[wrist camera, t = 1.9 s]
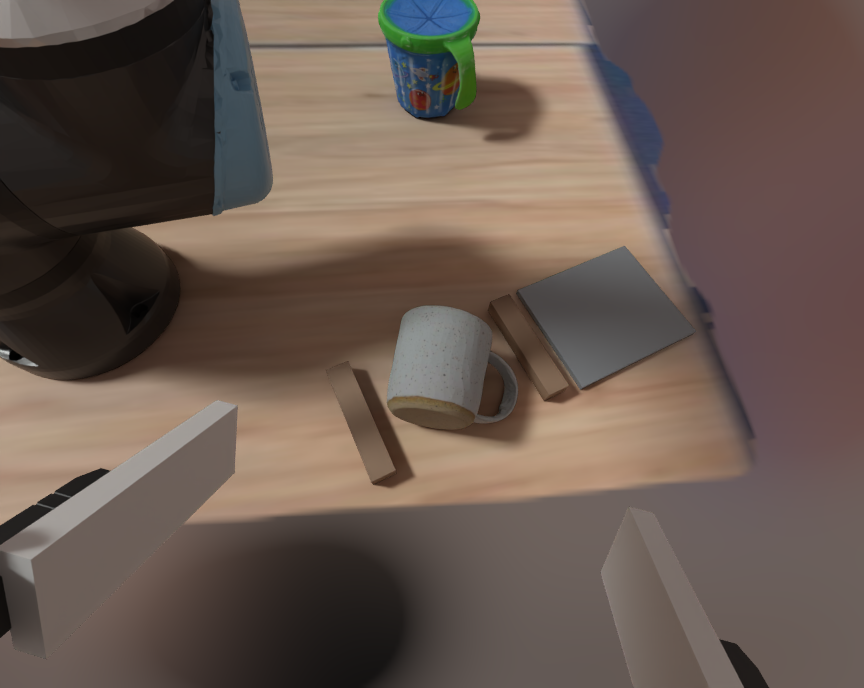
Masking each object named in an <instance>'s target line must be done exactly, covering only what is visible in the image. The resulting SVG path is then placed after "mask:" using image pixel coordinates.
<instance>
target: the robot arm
mask: <svg viewBox="0 0 864 688" xmlns="http://www.w3.org/2000/svg"><path fill="white" fill-rule="evenodd" d="M272 184H273V174H272V166H271V159H270V153H269V147H268V141H267V135H266V129H265V124H264V118H263V113H262V107H261V102H260V97H259V92H258V87H257V82H256V76H255V71H254V66H253V61H252V56H251V51H250V47H249V42H248V37H247V33H246V28H245V24H244V20H243V17H242V14H241V9H240V4H239V1H238V0H0V357H1V358H2V359H4V360H5V361H7V362H8V363H10V364H12V365H14V366H16V367H19V368H21V369H23V370H25V371H28V372H30V373H32V374H35V375H37V376H41V377H44V378H49V379H59V380H71V379H80V378H86V377H91V376H95V375H98V374H101V373H104V372H107V371H110V370H112V369H114V368H116V367H119V366H121V365H123V364H124V363H126V362H128V361H130V360H131V359H133V358H134V357H136V356H137V355H139V354H140V353H141V352H143V351H144V350H145V349H146V348H148V347H149V346H150V345H151V344H152V343H153V342H154V341H155V340H156V339H157V338H158V337H159V336H160V334H161V333H162V332H163V331H164V329H165V328H166V327H167V325H168V323H169V322H170V320H171V318H172V316H173V314H174V312H175V310H176V307H177V304H178V300H179V295H180V281H179V276H178V273H177V270H176V268H175V266H174V264H173V262H172V261H171V260H170V258H169V257H168V256H167V255H166V254H165V253H164V252H163V250H162V249H161V248H160V247H159V246H158V245H157V244H156V243H155V242H154V241H153V240H152V239H150V238H149V237H148V236H146V235H145V234H143V233H141V232H139V231H138V230H136V229H134V228H132V227H136V226H142V225H149V224H155V223H161V222H167V221H173V220H179V219H185V218H192V217H198V216H204V215H210V214H212V215H213V216H216V215H218V214H221V213H222V211H224V210H228V209H233V208H237V207H242V206H246V205H251V204H255V203H258V202H259V201H262V200H263V199H264V198H265V197H266V196H267V195H268V193H269V192H270V190H271V188H272ZM237 409H238V405H234V404H230V403H226V402H222V401H218V400H216V401H214V402H213V403H212V404H210V405H209V406H207V407H206V408H204V409H203V410H201V411H200V412H198V413H197V414H195V415H194V416H192V417H191V418H189V419H188V420H186V421H185V422H183V423H182V424H180V425H179V426H177V427H176V428H174V429H173V430H171V431H170V432H168V433H167V434H165V435H164V436H162V437H161V438H159V439H158V440H156V441H155V442H153V443H152V444H150V445H149V446H147V447H146V448H144V449H143V450H141V451H140V452H138V453H137V454H135V455H134V456H132V457H131V458H129V459H128V460H126V461H125V462H124V463H122V464H121V465H119V466H118V467H116V468H115V469H113V470H112V471H109V470H105V469H102V468H100V469H98V470H95V471H92V472H90V473H87V474H85V475H82V476H79V477H77V478H75V479H73V480H72V481H70V482H69V483H67V484H65V485H64V486H62V487H61V488H59V489H57V490H56V491H55V493H54V494H50V495H48V496H46V497H45V498H43V499H42V500H40V501H38V502H37V504H36V505H32V506H31V507H29V508H27V509H26V510H24V511H23V512H21V513H19V514H18V515H16V516H15V517H13V518H12V519H10V520H8V521H7V522H5V523H4V524H2V525H0V638H1V637H2V636H3V635H4V634H5V633H6V632H8V631H9V630H10V631H11V636H12V641H13V646H14V649H15V650H19V651H22V652H25V653H28V654H31V655H34V656H37V657H40V658H43V659H47V658H49V657H50V655H52V654H53V653H54V651H56V649H58V648H59V647H60V646H61V645H62V644H63V642H64V641H66V640H67V639H68V638H69V637H70V636H71V634H73V633H74V632H75V631H76V630H77V629H78V628H79V627H80V626H81V625H82V624H83V623H84V622H85V621H86V620H87V619H88V618H89V617H90V616H91V615H92V614H93V613H94V612H95V611H96V610H97V609H98V608H99V607H100V606H101V605H102V604H103V603H104V602H105V601H106V600H107V599H108V598H109V597H110V596H111V595H112V594H113V593H114V592H115V591H116V590H117V589H118V588H119V587H120V586H121V585H122V584H123V583H124V582H125V581H126V580H127V579H128V578H129V577H130V576H131V575H132V574H133V573H134V572H135V571H136V570H137V569H138V568H139V567H140V566H141V565H142V564H143V563H144V562H145V561H146V560H147V559H148V558H149V557H150V556H151V555H152V554H153V553H154V552H155V551H156V550H157V549H158V548H159V547H160V546H161V545H162V544H163V543H164V542H165V541H166V540H167V539H168V538H169V537H170V536H171V535H172V534H173V533H174V532H175V531H176V530H177V529H178V528H179V527H180V526H181V525H182V524H183V523H184V522H185V521H187V520H188V519H189V518H190V517H191V516H192V515H193V514H194V513H195V512H196V511H197V510H198V509H199V508H200V507H201V506H202V505H203V504H204V503H205V502H206V501H207V500H208V499H209V498H210V497H211V496H212V495H213V494H214V493H215V492H216V491H217V490H218V489H219V488H220V487H221V486H222V485H223V484H224V483H225V482H226V481H227V480H228V479H229V478H230V477H231V476H232V475H233V474H234V473H235V452H236V431H237ZM600 573H601V577H602V580H603V584H604V587H605V591H606V594H607V598H608V601H609V605H610V608H611V612H612V615H613V619H614V622H615V626H616V629H617V632H618V636H619V640H620V643H621V647H622V650H623V654H624V657H625V661H626V664H627V668H628V671H629V675H630V678H631V682H632V685H633V688H769V687H768V685H767V684H766V682H765V680H764V679H763V677H762V675H761V673H760V672H759V670H758V668H757V667H756V666H755V665H754V664H753V662H752V661H751V660H750V659H749V658H748V657H747V655H745V653H744V652H743V651H742V650H741V649H740V647H739V646H738V645H737V644H735V643H731V642H727V641H724V640H720V639H719V638H718V636H717V635H716V633H715V631H714V629H713V627H712V625H711V623H710V621H709V619H708V617H707V615H706V613H705V611H704V609H703V607H702V606H701V604H700V602H699V600H698V598H697V596H696V594H695V592H694V590H693V588H692V586H691V584H690V582H689V580H688V579H687V577H686V575H685V573H684V571H683V569H682V567H681V566H680V563H679V561H678V559H677V558H676V555H675V553H674V552H673V550H672V548H671V546H670V544H669V542H668V540H667V538H666V536H665V534H664V532H663V530H662V528H661V526H660V524H659V523H658V521H657V519H656V517H655V515H654V513H652V512H648V511H644V510H640V509H637V508H633V507H628V509H627V512H626V514H625V516H624V519H623V521H622V523H621V526H620V528H619V530H618V533H617V535H616V537H615V540H614V542H613V544H612V546H611V549H610V551H609V553H608V556H607V558H606V560H605V563H604V565H603V568H602V570H601V572H600Z"/></svg>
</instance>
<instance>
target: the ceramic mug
mask: <svg viewBox="0 0 864 688" xmlns="http://www.w3.org/2000/svg"><path fill="white" fill-rule="evenodd" d="M491 343H492V331H491V329H490V327H489V326H488V324H486V323H485V322H484V321H483V320H482V319H480V318H479V317H477V316H475V315H473V314H471V313H468V312H466V311H463V310H460V309H456V308H452V307H447V306H435V305H429V306H419V307H416V308H413V309H411V310H409V311H407V312H406V313H405V314H404V316H403V318H402V320H401V325H400V330H399V335H398V340H397V344H396V349H395V354H394V360H393V365H392V370H391V374H390V378H389V384H388V392H387V405H388V408H389V410H390V411H391V412H392V414H393V415H394V416H396V417H398V418H400V419H402V420H404V421H407V422H410V423H413V424H417V425H421V426H425V427H430V428H437V429H462V428H466V427H467V426H469V425H471V424H472V423H473V422H475V423H493V422H498V421H500V420H502V419H504V418H506V417H507V416H508V415H509V414H510V413H511V412H512V410H513V409H514V407H515V404H516V401H517V396H518V383H517V379H516V377H515V374H514V373H513V371H512V369H511V368H510V366H509V365H508V364H507V363H506V362H505V361H504V360H503V359H502V358H501V357H499V356H498V355H497V354H495V353H493V352H492V351H490V348H491ZM488 362H489V363H490V364H491V365H493V366H494V367H495V368H496V369H497V370H498V371H499V373H500V374H501V376H502V378H503V380H504V386H505V390H504V395H503V399H502V403H501V405H500V406H499V413H498V414H497V415H496V416H493V417H489V416H483V415H478V414H477V412H478V409H479V406H480V402H481V396H482V390H483V382H484V377H485V373H486V368H487V363H488Z"/></svg>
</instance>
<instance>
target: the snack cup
mask: <svg viewBox="0 0 864 688" xmlns="http://www.w3.org/2000/svg"><path fill="white" fill-rule="evenodd" d="M378 20H379V25H380V27H381V29H382V32H383V34H384V36H385V38H386V41H387V46H388V53H389V58H390V62H391V69H392V72H393V78H394V83H395V88H396V92H397V97H398V102H400V104H401V106H402V107H403V108H404V109H405V110H406V111H408V112H410V113H411V114H412V115H413V116H415V117H417V118H418V117H427V118H430V117H438V116H445V115H446V114H448V112H449V111H450V110H451V109H452V108H453V107H454V106H455V108H456V109H458V110H461V109H463V108H466V107H468V106H469V105H470V104H471V103H472V102H473V101H474V99H475V97H476V92H477V91H476V74H475V60H474V52H473V47H472V43H471V40H472V39H473V38H474V36H475V34H476V31H477V27H478V24H479V21H480V13H479V11H478V8H477V6H476V4H475V3H474V1H473V0H384V1H383V2H382V4H381V6H380V11H379V13H378Z"/></svg>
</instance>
